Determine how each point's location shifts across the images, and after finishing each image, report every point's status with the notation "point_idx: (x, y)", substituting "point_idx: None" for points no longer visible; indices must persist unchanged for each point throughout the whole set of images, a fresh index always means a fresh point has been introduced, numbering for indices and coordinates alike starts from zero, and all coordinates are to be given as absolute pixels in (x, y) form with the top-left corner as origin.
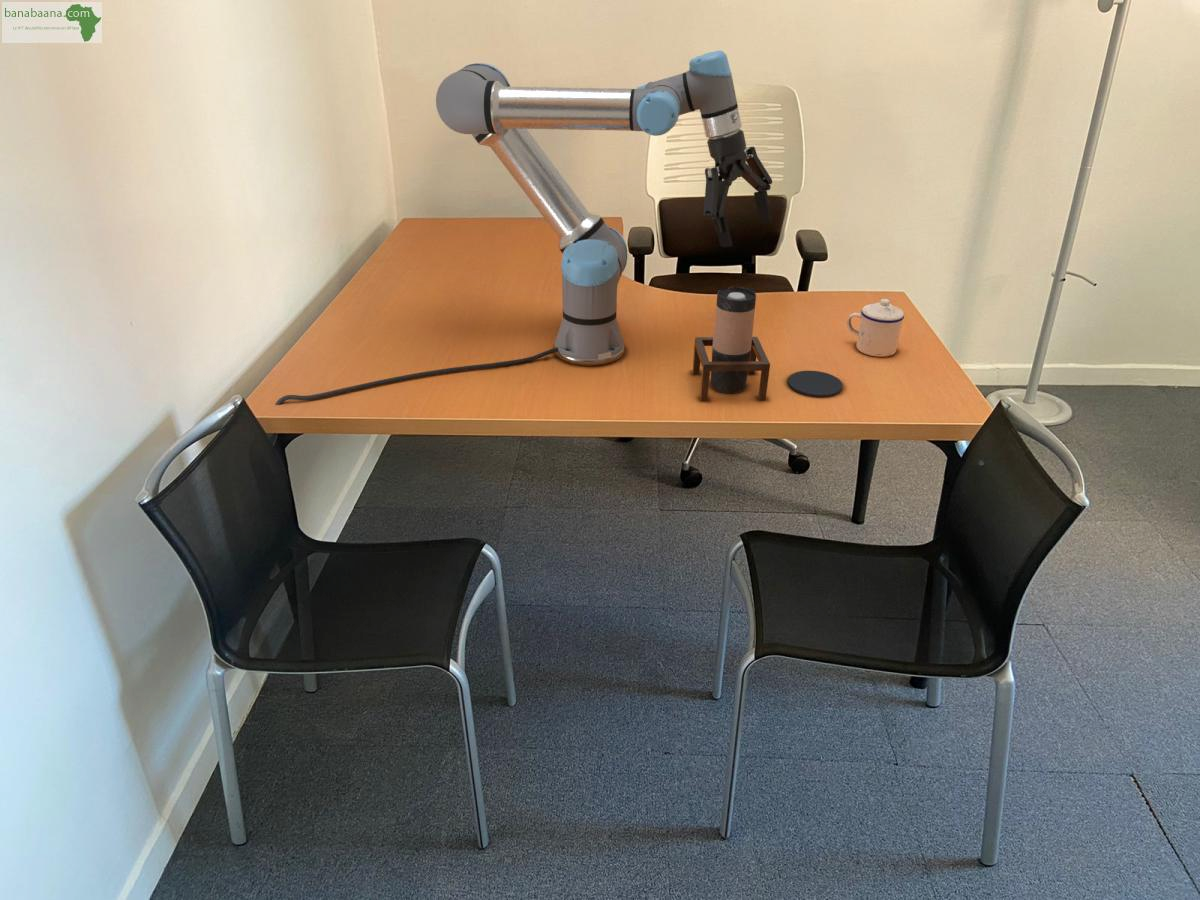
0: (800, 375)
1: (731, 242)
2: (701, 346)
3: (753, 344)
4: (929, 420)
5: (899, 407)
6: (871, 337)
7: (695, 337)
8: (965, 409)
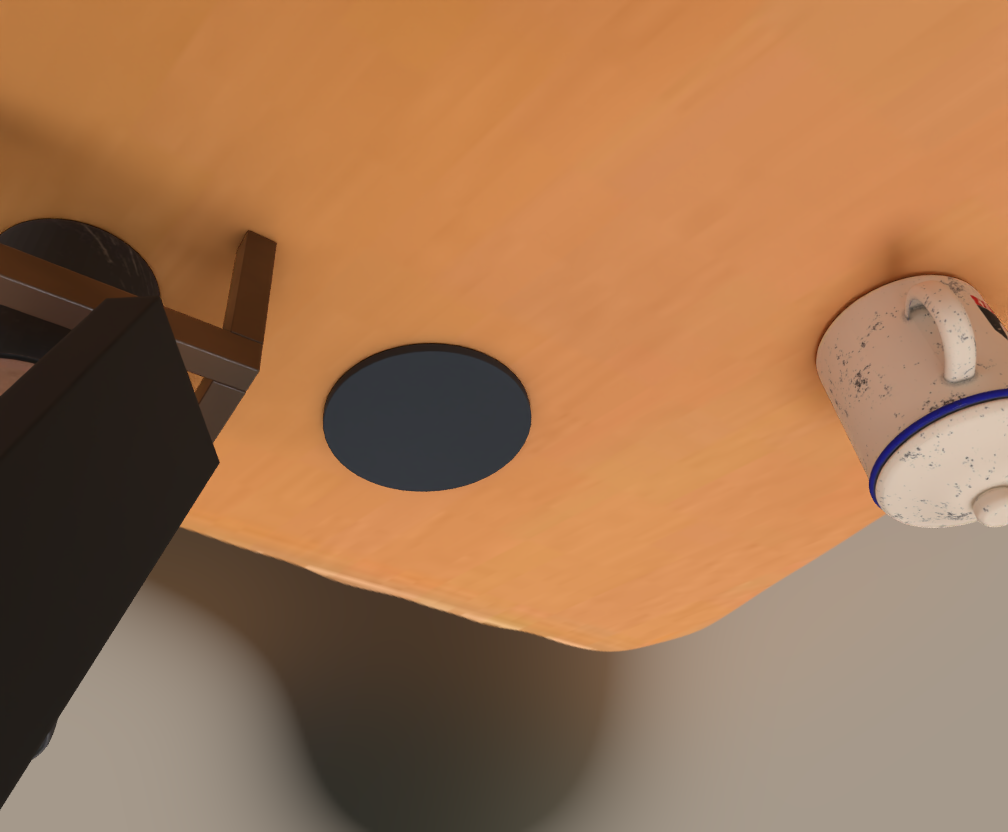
0: (421, 375)
1: (193, 490)
2: None
3: (198, 398)
4: (536, 624)
5: (534, 575)
6: (843, 417)
7: None
8: (662, 623)
